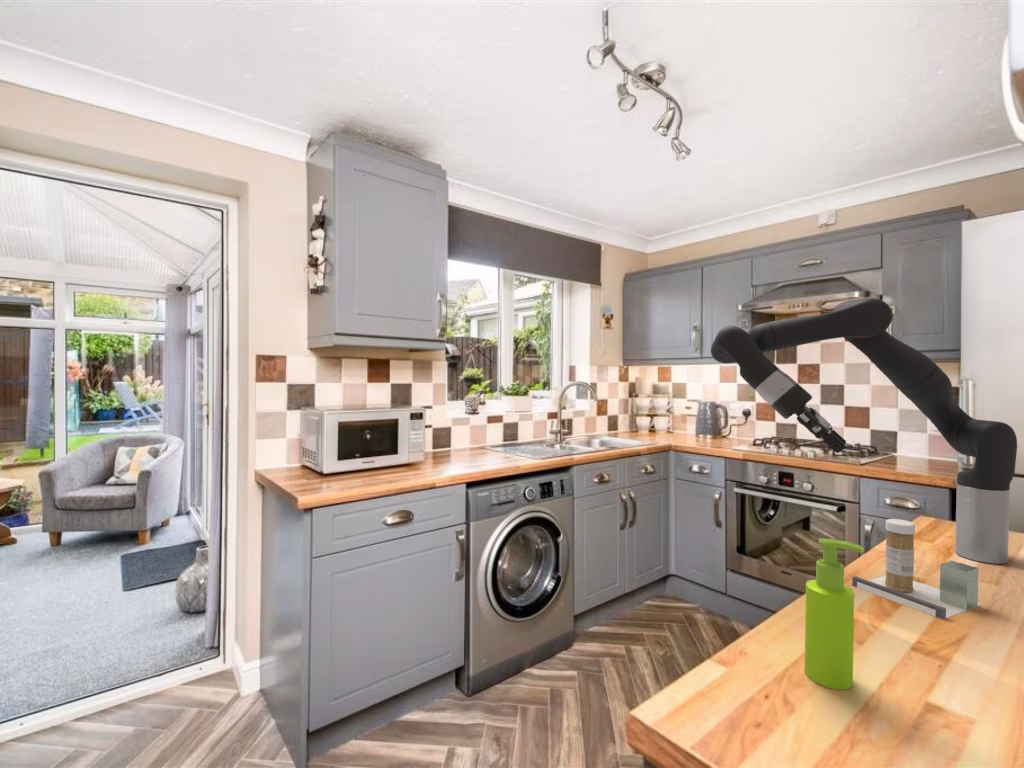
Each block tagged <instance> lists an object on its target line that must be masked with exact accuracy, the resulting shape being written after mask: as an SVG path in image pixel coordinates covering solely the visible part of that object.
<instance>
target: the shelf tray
mask: <svg viewBox="0 0 1024 768" xmlns="http://www.w3.org/2000/svg"><path fill="white" fill-rule="evenodd" d="M851 577H852V579H851V580H852V582H851V583H852V584H851V586H853V587H855V588H857V589H860V590H863V591H865V592H867V593H871V594H873V595H876V596H879V597H881V598H884V599H887V600H889V601H892V602H893V603H896V604H897V603H898V604H900V605H903V606H906V607H908V608H911V609H913V610H916V611H919V612H921V613H923V614H926V615H929V616H932V617H934V618H938V619H941V620H945V619H947V618H950V617H952V616H955V615H958V614H961V613H964V612H966V611H968V610H971V609H973V608H975V607H973V608H970V609H968V610H965V609H962V608H959V607H956V606H954V605H951V604H948V603H945V602H942V601H940V588H936V587H934V586H931V585H929V584H925V583H922V582H919V581H916V580H913V589H914V590H913V591H912V592H908V593H905V592H899V591H896V590H893V589H890V588H888V587H887V586H886V585H885V582H886V575H882V576H879V577H876V578H873V579H869V580H868V579H865V578H863V577H860V576H857V575H854V576H851ZM982 605H984V603H982V602H980V601H978V606H977V607H979V606H982Z"/></svg>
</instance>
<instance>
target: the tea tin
mask: <svg viewBox="0 0 1024 768" xmlns="http://www.w3.org/2000/svg"><path fill="white" fill-rule="evenodd" d="M939 565H940V569H939V570H940V572H939V574H940V575H939V589H940V601H942V602H945V603H948V604H951V605H954V606H956V607H959V608H962V609H965V610H966V611H968V609H969V610H971V609H973V607H974V608H976V607H979V606H978V602H979V570H980V569H979V567H975V566H972V565H969V564H965V563H961V562H959V561H958V562H957V561H954V560H950V561H945V562H943V563H940V564H939ZM970 608H971V609H970Z"/></svg>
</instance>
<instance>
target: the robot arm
mask: <svg viewBox="0 0 1024 768" xmlns="http://www.w3.org/2000/svg"><path fill="white" fill-rule="evenodd" d="M893 315H894V314H893V311H892V308H891V307H890V305H889V304H887V302H885V301H884V300H881V299H878V298H872V297H866V298H857V299H850V300H846V301H843V302H841V303H838V304H837V305H836V306H835V307H834V308H833V309H832V311H829V312H824V313H819V314H812V315H806V316H805V315H804V316H797V317H789V318H784V319H783V318H782V319H778V320H774V321H773V320H772V321H767V322H764V323H760V324H757V325H754V326H753V327H752V328H750V329H749V330H748V331H746V330H744V328H741V327H739V326H737V325H726V326H724V327H722V328H721V329H720V330H719V331H718V332H717V334H716V336H715V338H714V340H713V343H712V344H711V347H710V354H711V356H712V358H713V359H714V360H715V361H716V362H718V363H722V364H733V363H736V364H737V365H738V367H739V375H740V377H741V378H742V379H743V380H744V381H745V382H746V383H747V384H748V385H749V386H750V387H751V388H752V389H754V390H755V391H756V392H757V394H758V395H759V396H760V397H761V398H762V400H764V402H766V403H767V404H768V405H770V407H771V408H772V409H773V410H775V411H776V412H777V413H778V414H779V416H781V417H782V418H783V419H784V420H787V419H789V418H791V417H792V416H793V415H796V416H797V417H796V420H797V421H798V423H799V424H800V425H802V426H803V427H804V428H806V429H807V430H808V432H809V433H811V434H813V435H814V437H815V438H816V439H818V440H820V441H822V442H824V443H825V444H826V445H827V446H828V447H829V448H830V449H831V450H833V451H834V452H835V453H837V454H839V453H841V452H842V451H843V450H845V448H846V444H847V440H845V438H843V437H842V436H841V435H840V434H839V433H838V432H837V431H836V430H835V429H834V428H833V426H832V424H831V423H830V422H829V421H828V420H827V419H826V418H825V417H823V415H821V414H820V412H819V411H818V410H817V409H815V408H813V407H808V406H807V403H809V402H810V401H811V400H812V399H813V396H812V394H810V393H809V392H808V391H807V390H806V389H805V388H804V387H802V385H800V384H799V383H798V382H797V381H796V380H794V379H793V378H792V377H791V376H790V375H789V374H787V373H786V372H784V371H783V370H781V369H780V367H778V366H777V365H776V364H774V362H772V361H771V360H770V359H768V358H767V357H766V355H765V353H768V352H774V351H779V350H784V349H789V348H794V347H798V346H802V345H807V344H812V343H816V342H821V341H827V340H834V339H839V338H843V339H845V340H846V341H847V342H849V343H850V344H851V345H852V346H854V347H855V348H856V349H857V350H858V351H860V352H861V353H862V354H863V355H864V356H865V357H867V358H868V360H870V361H871V362H872V364H873V365H875V367H876V368H877V369H878V370H879V371H881V373H883V375H884V376H885V377H886V378H888V380H889V381H890V382H891V383H892V384H893V385H894V386H895V387H896V388H897V389H898V390H899V391H900V392H901V393H902V394H903V395H904V396H905V397H906V398H907V399H908V400H910V401H911V403H913V405H914V406H916V408H917V409H918V410H919V411H920V412H921V413H922V414H923V415H924V416H925V417H926V418H927V419H929V421H930V422H931V423H932V424H933V426H934V427H935V428H936V429H937V430H938V432H939V433H940V434H941V435H942V437H943V438H944V439H945V441H946V442H947V443H948V445H950V447H951V448H952V449H954V450H955V452H957V453H959V454H961V455H965V456H968V457H971V458H975V461H974V465H973V467H972V468H971V469H968V470H961V471H958V473H957V474H956V499H955V501H956V503H955V504H956V505H955V507H956V509H955V542H954V543H955V545H954V546H955V547H954V548H955V549H954V551H955V553H956V554H957V555H958V556H960V557H963V558H966V559H969V560H972V561H976V562H977V561H978V562H982V563H985V564H986V563H987V564H993V565H995V564H997V565H999V564H1001V565H1003V564H1008V562H1009V530H1010V529H1009V528H1010V527H1009V525H1010V489H1011V488H1010V486H1011V482H1012V480H1013V478H1014V477H1015V472H1016V462H1017V451H1018V440H1017V439H1018V438H1017V435H1016V432H1015V430H1014V429H1013V427H1011V425H1009V424H1008V423H1006V422H1001V421H996V420H994V421H993V420H985V419H975V418H973V417H972V416H970V415H969V414H967V413H966V412H965V411H964V410H963V409H962V408H961V407H960V406H959V405H958V404H957V403H956V401H955V399H954V391H953V385H952V382H951V379H950V377H949V376H948V375H947V373H946V372H945V371H944V370H942V368H940V366H938V365H937V364H936V362H935V361H933V360H932V359H931V358H930V357H929V356H927V355H926V354H924V353H923V352H921V351H919V350H917V349H916V348H914V347H912V346H910V345H908V344H906V343H904V342H903V341H901V340H899V339H897V338H896V337H894V336H892V334H890V333H889V332H888V331H887V329H888V328H889V327H890V325H891V324H892V321H893Z"/></svg>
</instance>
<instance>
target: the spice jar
mask: <svg viewBox="0 0 1024 768" xmlns="http://www.w3.org/2000/svg"><path fill="white" fill-rule="evenodd" d="M885 531H886V540H885V542H886V543H885V576H886V582H885V585H886V586H887V587H888V588H890V589H893V590H896V591H899V592H905V593H908V592H912V591H913V590H914V589H913V581H914V573H915V572H914V568H915V549H914V548H915V547H914V537H915V534H916V526H915V524H914V523H913V522H912V521H909V520H906V519H899V518H888V519H886V520H885Z"/></svg>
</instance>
